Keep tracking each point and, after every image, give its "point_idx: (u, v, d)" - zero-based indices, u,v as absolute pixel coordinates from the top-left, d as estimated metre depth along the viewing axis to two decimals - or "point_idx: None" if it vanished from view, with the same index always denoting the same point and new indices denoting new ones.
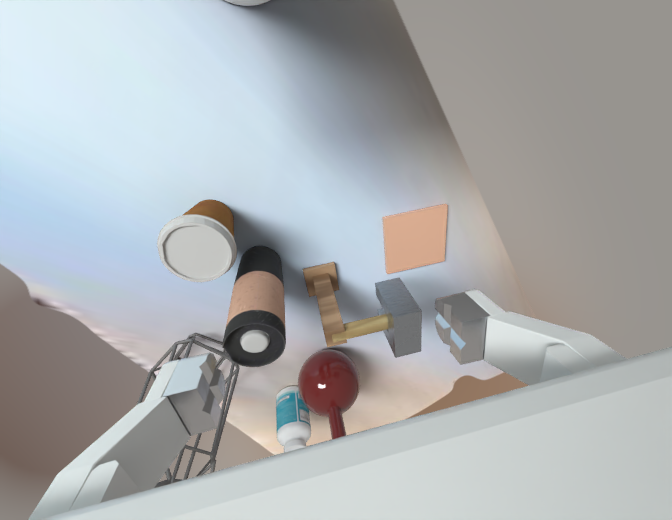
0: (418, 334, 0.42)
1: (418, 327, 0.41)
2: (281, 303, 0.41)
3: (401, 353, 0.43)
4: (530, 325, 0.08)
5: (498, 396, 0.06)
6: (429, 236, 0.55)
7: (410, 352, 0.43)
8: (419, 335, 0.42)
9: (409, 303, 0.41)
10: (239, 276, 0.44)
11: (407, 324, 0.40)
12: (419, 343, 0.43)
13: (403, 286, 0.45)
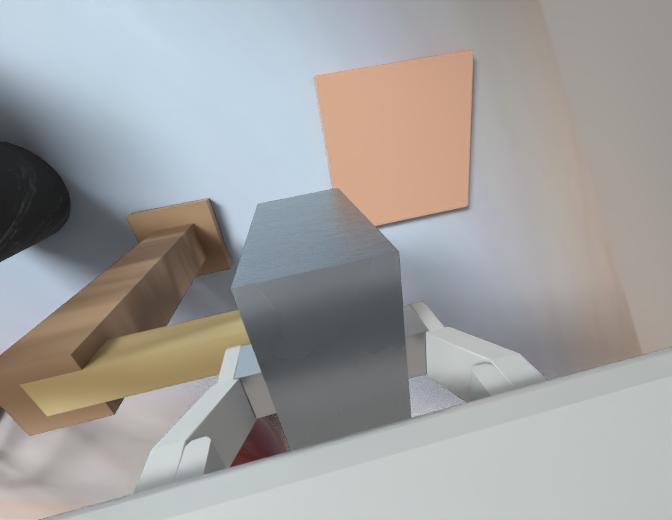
0: (394, 383, 0.09)
1: (389, 351, 0.08)
2: None
3: None
4: (464, 342, 0.08)
5: (498, 396, 0.06)
6: (432, 138, 0.24)
7: None
8: (400, 388, 0.09)
9: (345, 232, 0.09)
10: None
11: (328, 333, 0.08)
12: None
13: (342, 199, 0.12)
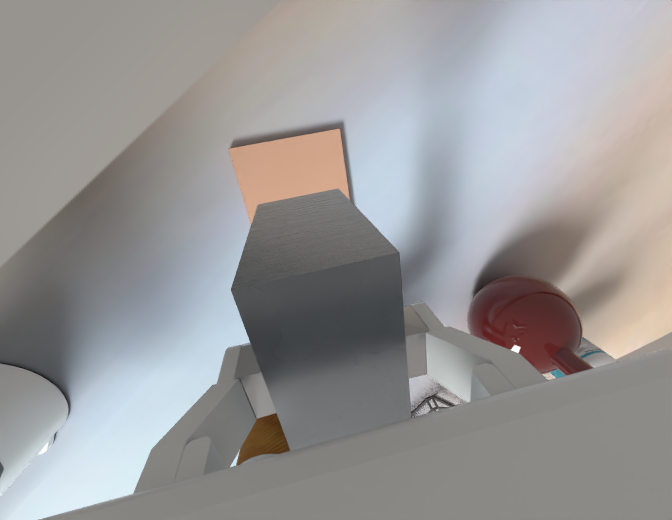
0: (395, 384, 0.09)
1: (390, 352, 0.08)
2: None
3: None
4: (464, 342, 0.08)
5: (498, 396, 0.06)
6: (288, 171, 0.33)
7: None
8: (400, 389, 0.09)
9: (346, 233, 0.09)
10: None
11: (328, 334, 0.08)
12: None
13: (342, 200, 0.12)
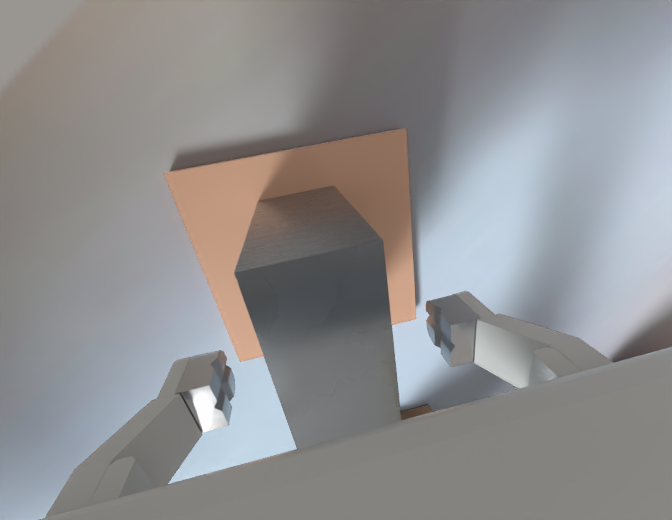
0: (382, 362, 0.10)
1: (377, 332, 0.09)
2: None
3: (321, 441, 0.11)
4: (519, 327, 0.08)
5: (498, 396, 0.06)
6: None
7: None
8: (387, 366, 0.10)
9: (337, 224, 0.10)
10: None
11: (321, 314, 0.09)
12: (391, 400, 0.11)
13: (337, 196, 0.13)
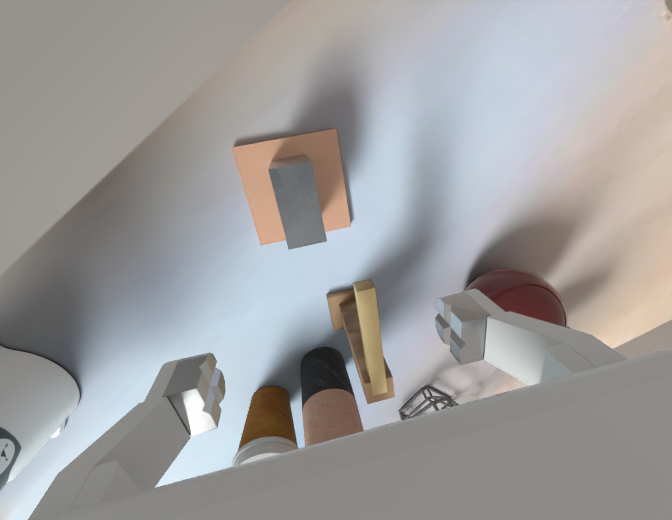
0: (315, 207, 0.29)
1: (312, 194, 0.28)
2: (323, 429, 0.35)
3: (296, 242, 0.30)
4: (530, 325, 0.08)
5: (498, 396, 0.06)
6: None
7: (310, 241, 0.30)
8: (317, 209, 0.29)
9: (300, 160, 0.28)
10: None
11: (294, 186, 0.27)
12: (321, 225, 0.29)
13: (304, 156, 0.32)
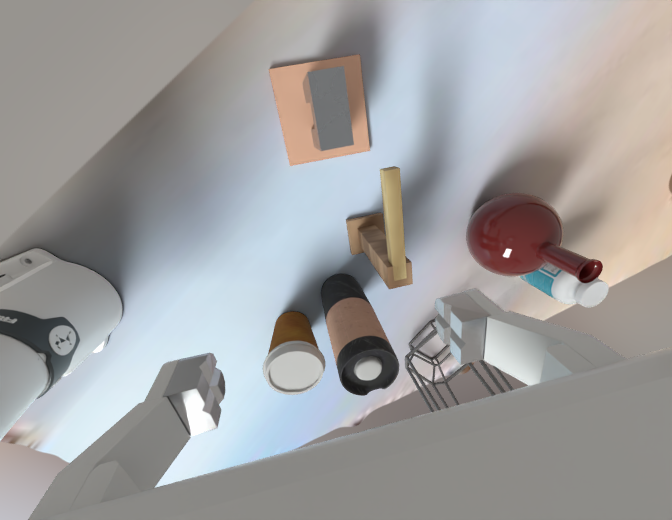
0: (345, 111, 0.33)
1: (343, 98, 0.33)
2: (348, 321, 0.39)
3: (327, 144, 0.34)
4: (530, 325, 0.08)
5: (498, 396, 0.06)
6: None
7: (340, 144, 0.34)
8: (347, 113, 0.33)
9: None
10: None
11: (328, 89, 0.32)
12: (349, 129, 0.34)
13: None
